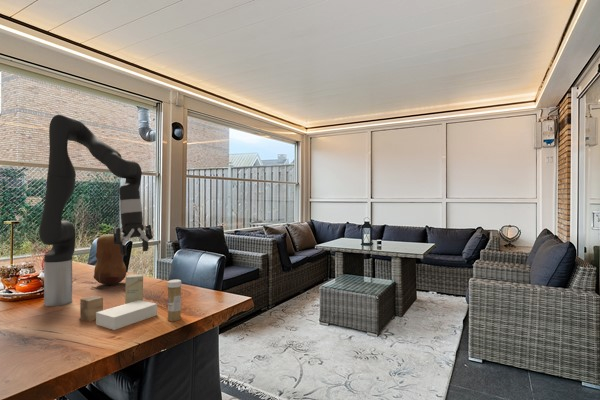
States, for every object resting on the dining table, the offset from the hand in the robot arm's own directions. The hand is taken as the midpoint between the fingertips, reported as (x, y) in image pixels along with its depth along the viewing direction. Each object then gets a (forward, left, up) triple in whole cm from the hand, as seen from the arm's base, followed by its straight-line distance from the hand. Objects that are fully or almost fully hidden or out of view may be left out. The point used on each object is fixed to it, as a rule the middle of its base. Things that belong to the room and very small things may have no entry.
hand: (135, 253), depth 129 cm
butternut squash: (-43, +16, -21) cm, 51 cm away
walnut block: (-3, -15, -21) cm, 26 cm away
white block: (+10, -10, -21) cm, 25 cm away
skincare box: (-1, 0, -21) cm, 21 cm away
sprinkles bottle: (+24, -2, -21) cm, 32 cm away
